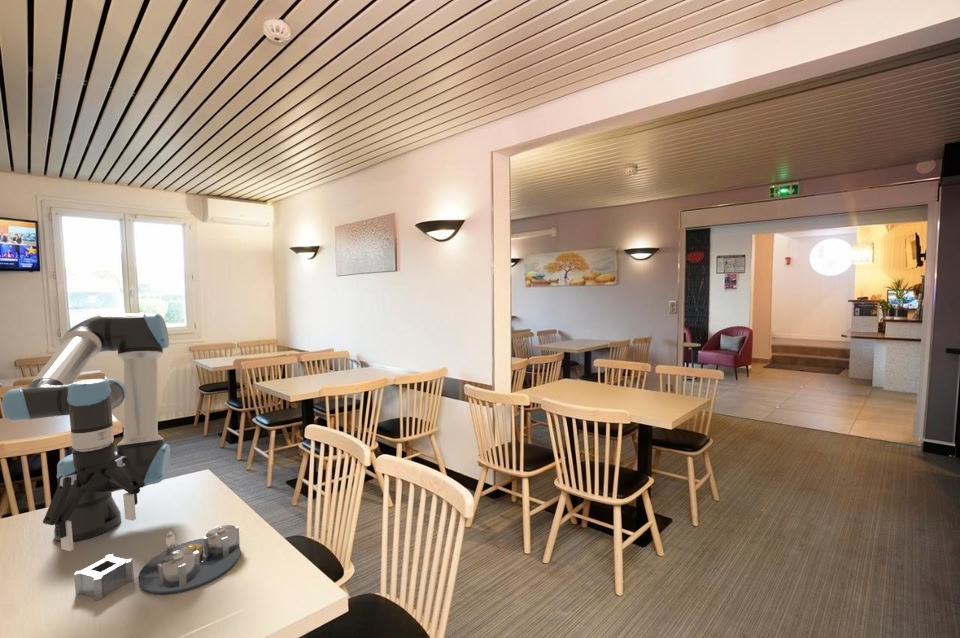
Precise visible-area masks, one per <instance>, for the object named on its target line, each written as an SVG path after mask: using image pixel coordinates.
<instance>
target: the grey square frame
mask: <svg viewBox="0 0 960 638" xmlns="http://www.w3.org/2000/svg"><path fill="white" fill-rule="evenodd" d="M133 563H134V562H133V558H129V559H125V558H120V557H118V556H114V553H112V554H107V555H106V554H105V557H103V558H102V559H100V560H98V561H96V562H95V563H93V564H90V565H89V566H87V567H85V568H83V569H81V570H76V571H75V572H74V574H73V578H74V580H73V581H74V589H75V591H74V592H75V596H78V595H81V594H82V595H86V596H89V597H93V598H94V601H95V602H96V601H99V600H103V599H104V598H105V596H107V595H108V594H110V593H112V592H113V591H115V590H116V589H119V588H120V587H121V586H123V585H125V584H127V583H130V582H133V580H134V578H135V577H134V574H135V573H134V564H133Z"/></svg>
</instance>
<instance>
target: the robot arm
mask: <svg viewBox="0 0 960 638" xmlns="http://www.w3.org/2000/svg"><path fill="white" fill-rule="evenodd" d="M59 343H60V346H59V348H57V350H56V351H55V352H54V353H53V355H52V357H50V359H48V361H47V362H46V364H45V365H44V366H43V367H42V368H41V370H40V371H39V373H37V375H35V377H34V378H33V379H32V381H30V383H29V384H28V385H27V386H26V387H22V386H21V387H17V388H12V389H8V390H7V391H6V392H5V393H4V395H3V398H2V402H1V410H2V412H3V415H4V417H6V419H8V420H9V421H21V420H22V421H24V420H28V421H31V420H35V419H45V418H53V417H60V416H61V417H62V416H69V423H70V437H71V448H72V449H73V451H72V453H70V454H69V455H66V456H65V457H63V458H61V459H60V460H59V461H58V463H57V465H56V472H57V473H56V479H57V480H56V481H57V487H56V490H55V493H54V495H53V497H52V500H51V502H50V504H49V506H48V509H47V511H46V512H45V513H46V514H45V516H44V518H43V520H42V523H43V524H44V525H49V526H54V530H53V535H54V539H55V541H57V542H60V548H61V550H64V551H66V552H67V551H68V552H71V551H73V550H74V542H79V541H82V540H87V539H90V538H93V537H96V536H99V535H102V534H104V533H106V532H108V531H110V530H112V529H113V528H115V527H117V526H118V525H119V524H120V523H121V521H122V516H121V514H122V513H121V511H120V509H119V506H118V505H117V504H116V501H115V500H114V498H113V495H112V494H113V493H112V492H113V491H120V490H124V491H125V493H123V494H122V495H123V496H122V498H123V506H124V507H123V509H124V520H127V521H135V520H136V519H137V517H136V516H137V515H136V514H137V513H136V505H137V504H138V494H139V493H140V492H141V488H145V487H147V486H150V485H156V484H159V483H161V482H162V481H164V479H166V475H167V473H168V469H169V466H170V459H171V446H170V444H168V443H164V442H165V441H164V440H165V439H164V438H163V437H162V436H161V435H160V434H159V433H158V432H159V431H158V425H159V423H158V420H159V419H158V416H159V415H158V413H159V412H158V359H159V358H160V357H161V356H163V354H164V353H163V351H164V349H167V348H169V345H170V339H169V333H168V328H167V324H166V322H165V319H164V317H163V316H162V315H161V314H159V313H157V312H156V313H155V312H153V313H152V312H150V313H149V312H139V313H137V312H136V313H119V314H118V313H117V314H101V315H96V316H92V317H90V318H88V319H85V320H83V321H81V322H79V323H78V324H76V325H74V326H73V327H71V328H70V329H69V330H68V331H66V333H64V335H63V336H62V337H61V339H60V342H59ZM102 352H117V356H118V357H119V358H120V359H121V360H122V361H123V382H122V381H120V380H119V379H115V378H90V379H83V380H78V381H76V380H77V379H78V378H79V377H80V375H81V373H82V372H83V370H84V369H85V367H86V366H87V365H88V362H89V361H90V360H91V358H92V359H93V358H94V357H96V356H97V355H98V354H99V353H102ZM122 403H123V437H122V440H120V441H119V442H118V443H117V446H116V447H117V448H116V447H115V444H114V443H113V442H114V441H115V439H114V426H113V425H114V424H113V410H114V409H115V408H117V407H120V406H121V404H122ZM115 448H116V449H115Z"/></svg>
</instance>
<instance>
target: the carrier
mask: <svg viewBox="0 0 960 638" xmlns="http://www.w3.org/2000/svg"><path fill="white" fill-rule="evenodd" d="M240 544H241V542H240V528H239V525H231V524H224V525H221V524H219V525H217V526H214V528H213V529H210V530H209V531H208V532H206V534H205V536H202V538H199V539H193V540H190V541H186V542H183V543H180V544H178V545H176V536H175V534H174V533H173V531H171V530H170V531H168V532H167V533H166V536H165V549H166V550H165V551H163V552H160V553H159V554H157V555H155V556H154V557H153V558H152V559H150V560H149V561H148V562H147V563H146V564H145V565H144V566H143V567H142V569H141V570H140V571H139V573H138V586H139V588H140V589H141V590H142V591H143V592H145V593H147V594H151V595H156V596H157V595H158V596H160V595H173V594H180V593H184V592H185V593H186V592H188V591H191V590H195V589H197V588H200V587H203V586H205V585H208V584H210V583H212V582H213V581H215V580H217V579H219V578H220V577H222V576H223V575H225V574H227V573H228V572H229V571H230V570H231V569H232V568H233V567H234V566H235V565H236V564H237V563H238V561H239V560H240V557H241V546H240Z"/></svg>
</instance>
